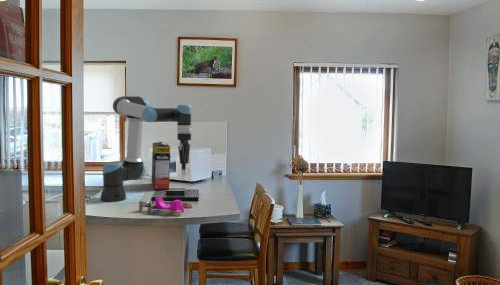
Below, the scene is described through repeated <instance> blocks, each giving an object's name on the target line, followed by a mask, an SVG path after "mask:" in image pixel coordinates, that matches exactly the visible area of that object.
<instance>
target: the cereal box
mask: <svg viewBox="0 0 500 285" xmlns="http://www.w3.org/2000/svg"><path fill="white" fill-rule="evenodd" d="M151 159H152V160H151V186H152V188H153V190H154V191H167V190H168V189H169V190H170V173H171V172H170V170H171V169H170V167H171V166H170V165H171V145H169V144H168V143H167V142H163V141H159V142H158V141H157V142H152V158H151Z"/></svg>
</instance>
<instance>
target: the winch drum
mask: <svg viewBox="0 0 500 285" xmlns="http://www.w3.org/2000/svg"><path fill="white" fill-rule="evenodd" d="M138 204H139V205H138V206H139V207H138V210H139V212H141V211H143V208H147V209H148V208H150V207H151V206H153V205H155V201H154V200H151V201H142V200H140V201H138Z"/></svg>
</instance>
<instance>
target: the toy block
mask: <svg viewBox="0 0 500 285" xmlns="http://www.w3.org/2000/svg"><path fill="white" fill-rule="evenodd" d="M154 200H155V201H154V205H155V209H163V210H180V211H181V214H183V213H184V211H185V207H184V205H182V204H181V202H182V200H181V199H174V200H173V201H171V202H172V205H170V204H168V205H166V204H165V203H164V201H163V200H164V197H162V196H159V197H156V198H154Z"/></svg>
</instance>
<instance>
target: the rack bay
mask: <svg viewBox="0 0 500 285" xmlns="http://www.w3.org/2000/svg"><path fill="white" fill-rule="evenodd" d="M163 201H164V203H165V204H166V205H168V204H170V205H172V202H173V201H169V200H168V201H166V200H164V199H163ZM181 204H182V205H184V208H189V209H190V208H193V206H194V205H193V202H185V201H181ZM147 214H148V215H159V214H161V215H162V216H175V215H178V216H179V217H181V216H182V213H181V211H180V210H163V209H155V204H153V205H151V207H150V208H148V207H147ZM161 215H160V216H161ZM180 215H181V216H180ZM178 216H177V217H178Z"/></svg>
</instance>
